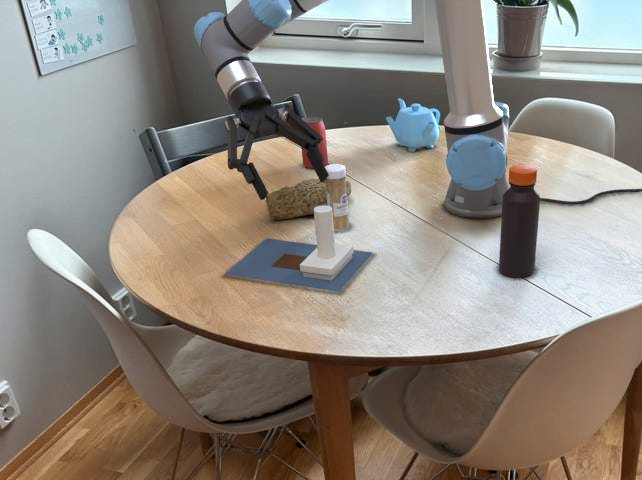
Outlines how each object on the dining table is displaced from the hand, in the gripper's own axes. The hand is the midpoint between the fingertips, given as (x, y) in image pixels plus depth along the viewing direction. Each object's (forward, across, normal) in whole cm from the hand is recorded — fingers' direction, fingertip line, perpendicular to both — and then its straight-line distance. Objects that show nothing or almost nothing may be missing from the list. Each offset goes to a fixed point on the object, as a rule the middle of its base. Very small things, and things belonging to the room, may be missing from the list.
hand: (295, 187), depth 138 cm
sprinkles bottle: (+6, -13, -14) cm, 20 cm away
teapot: (-16, -61, -36) cm, 73 cm away
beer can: (-20, -32, -41) cm, 55 cm away
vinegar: (+34, -27, +14) cm, 45 cm away
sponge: (-3, -14, -23) cm, 27 cm away
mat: (+13, +3, -7) cm, 15 cm away
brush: (+16, 0, -3) cm, 16 cm away
